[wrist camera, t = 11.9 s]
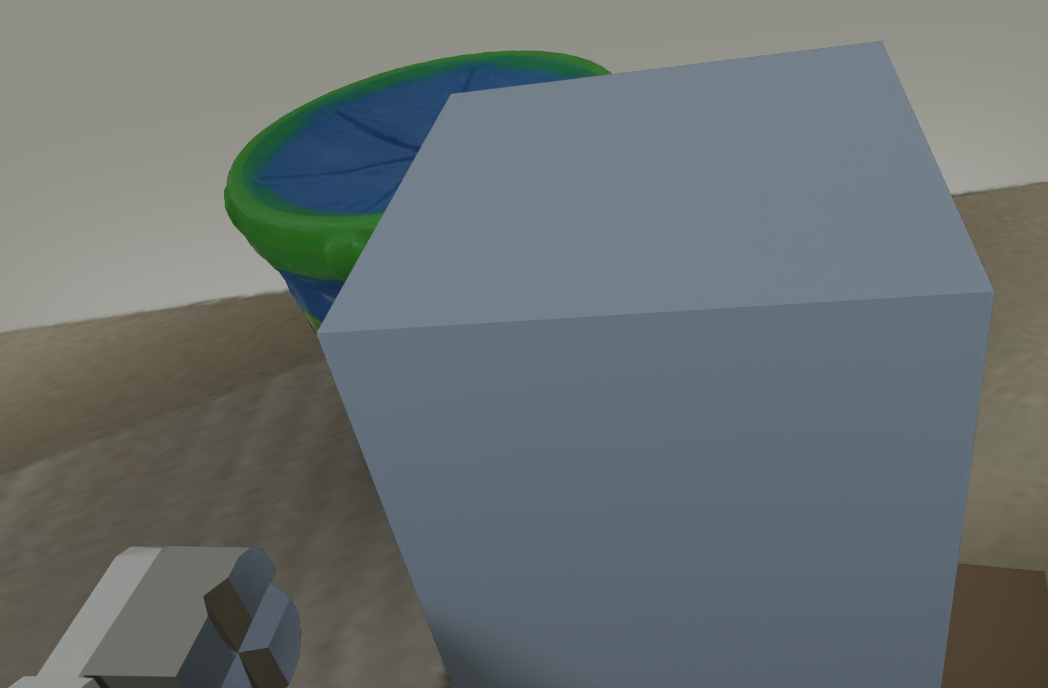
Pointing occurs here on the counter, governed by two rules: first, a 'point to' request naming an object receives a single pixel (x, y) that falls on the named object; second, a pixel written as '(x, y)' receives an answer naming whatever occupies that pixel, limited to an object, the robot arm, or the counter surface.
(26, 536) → the counter surface
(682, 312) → the pillar
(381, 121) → the snack cup
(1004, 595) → the walnut base
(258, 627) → the robot arm
